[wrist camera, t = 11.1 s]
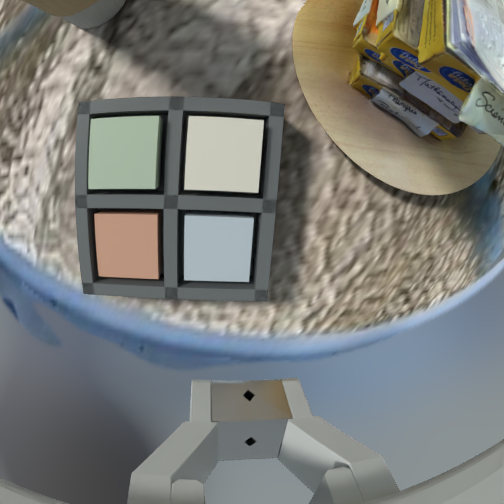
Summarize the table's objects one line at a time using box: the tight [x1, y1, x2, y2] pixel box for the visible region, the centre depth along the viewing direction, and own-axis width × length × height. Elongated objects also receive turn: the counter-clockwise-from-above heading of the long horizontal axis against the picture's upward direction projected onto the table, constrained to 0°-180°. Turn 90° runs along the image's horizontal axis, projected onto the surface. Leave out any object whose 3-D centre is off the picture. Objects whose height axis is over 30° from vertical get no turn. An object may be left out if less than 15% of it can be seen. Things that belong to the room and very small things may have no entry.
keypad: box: [75, 97, 285, 301], centre depth 23 cm, size 15×15×4 cm
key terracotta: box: [94, 209, 162, 279], centre depth 23 cm, size 5×5×2 cm
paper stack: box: [292, 0, 504, 195], centre depth 15 cm, size 25×25×17 cm
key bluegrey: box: [184, 211, 254, 282], centre depth 24 cm, size 5×5×2 cm
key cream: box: [184, 116, 264, 193], centre depth 21 cm, size 5×5×2 cm
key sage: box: [88, 116, 164, 189], centre depth 20 cm, size 5×5×2 cm
